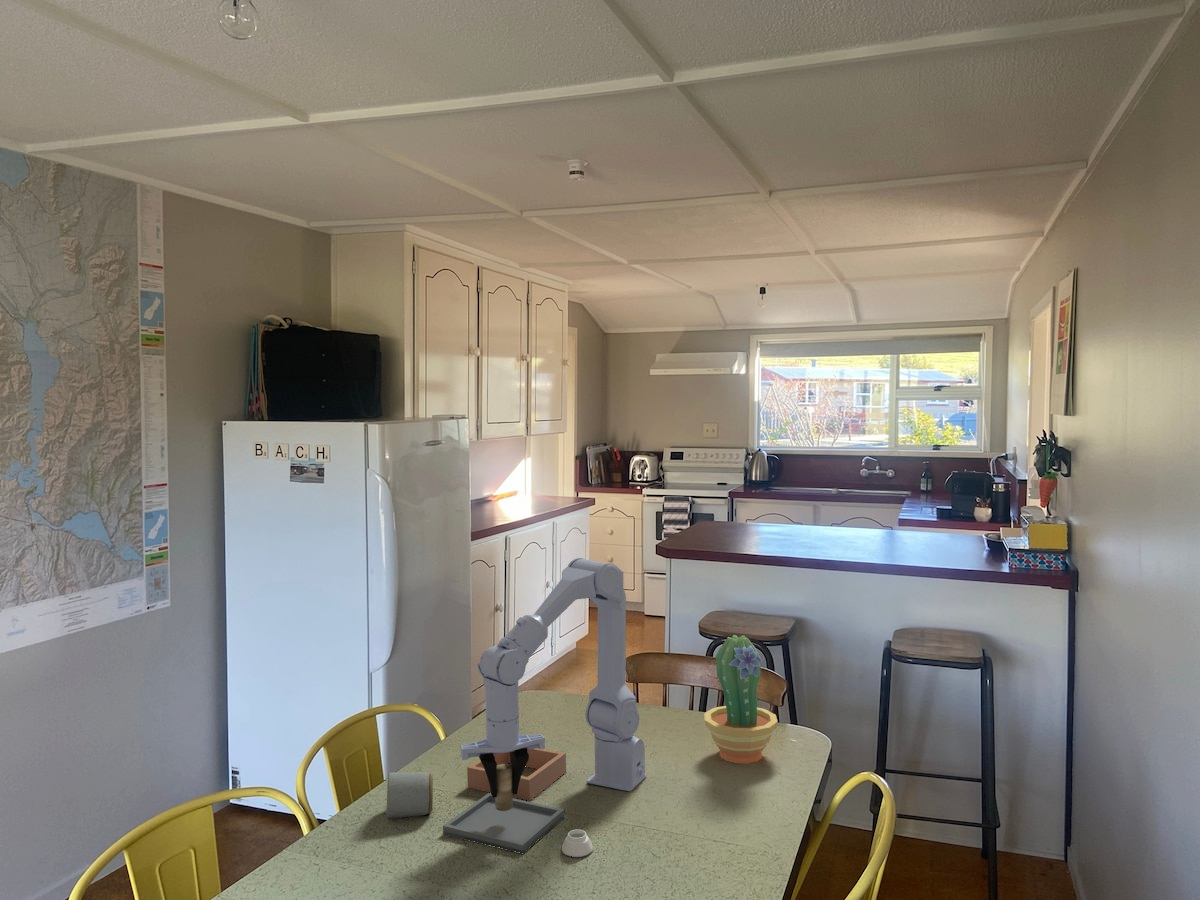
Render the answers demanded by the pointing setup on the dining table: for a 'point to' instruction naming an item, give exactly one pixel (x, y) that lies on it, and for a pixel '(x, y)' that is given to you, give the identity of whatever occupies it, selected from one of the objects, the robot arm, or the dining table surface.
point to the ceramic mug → (409, 794)
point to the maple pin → (504, 787)
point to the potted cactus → (740, 704)
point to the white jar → (577, 844)
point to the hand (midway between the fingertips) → (504, 793)
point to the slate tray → (504, 823)
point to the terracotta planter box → (529, 787)
